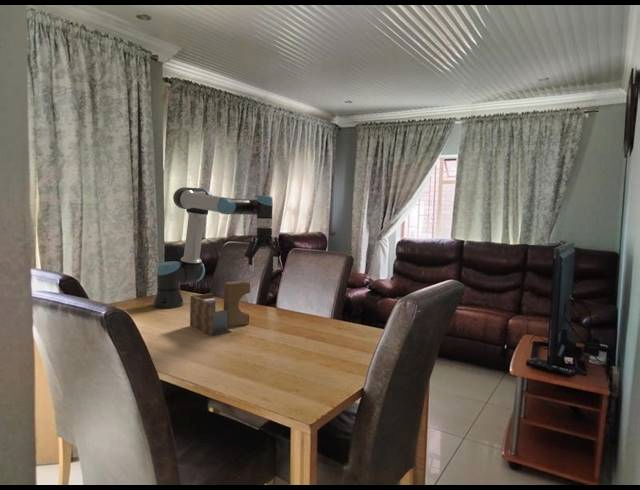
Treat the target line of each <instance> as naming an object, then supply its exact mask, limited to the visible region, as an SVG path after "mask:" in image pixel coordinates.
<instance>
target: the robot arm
mask: <svg viewBox="0 0 640 490" xmlns="http://www.w3.org/2000/svg"><path fill="white" fill-rule="evenodd" d="M256 196H257V197H256V199H247V198H230V197H225V196H217V195H213V194H212V191H210V190H209V189H206V188H200V187H186V186H185V187H180V188H178V189H176V191H175V192H173V196H172V197H173V198H172V199H173V202H174V204H175V206H176V207H178V208H179V209H184V210H185V211H186V213H187V215H188V219H187V226H186V234H185V235H186V236H185V244H184V253H183V256H182V257H181V258H180V261H176V260H173V261H172V260H171V261H165V262H161V263H159V264H158V265H157V270H156V274H157V277H156V290H157V291H156V293H155V297H154V299H153V307H155V308H158V309H173V308H179V307H181V306H184V298H183V296H182V294H181V285H186V284H194V283H197V282H200V281H201V280H203V278H204V277H205V273H206V268H205V265H204V263H203V262H202V259H201V257H200V256H201V248H202V240H203V233H204V227H205V226H204V224H205V217H206V216H208V215H209V211H212V212H215V213H216V212H217V213H220V214H221V215H244V216H245V215H246V216H251V215H254V216H255V215H256V237H250V242H249V244H248V247H247V249H246V252H245V253H244V257H245V258H247V259H248V260H247V261H248V265H249V272H251V273H254V272H255V258H254V257H255V255H256V254H257V253H258V251H259V249H260V248H262V247H263V248H264V247H268V249H269V250H270V251H271V253H272V254H273V257H272V270H275V271H278V264H279V263H280V262H279V261H280V259H279V258H280V257H281V256H282V255H283V251H282V250H281V247H280V245H279V242H278V237H277V236H273V228H272V227H273V209H274V207H273V206H274V204H273V196H272V195H266V194H264V195H262V194H261V195H256Z"/></svg>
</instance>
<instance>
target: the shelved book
mask: <svg viewBox="0 0 640 490" xmlns="http://www.w3.org/2000/svg"><path fill="white" fill-rule="evenodd" d="M203 300H206V301H208V302H211V303H213V312H216V299H215V298H214V297H213V298H210V299H203Z"/></svg>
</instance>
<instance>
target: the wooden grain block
mask: <svg viewBox="0 0 640 490" xmlns="http://www.w3.org/2000/svg"><path fill="white" fill-rule="evenodd" d="M189 298H190V299H189V300H190V302H189V303H190V306H189V308H190V312H189V327H191V328H193V329H195V330H197V331H199V332H201V333H203V334H205V335H207V336H208V337H214V336H213V303H211V302H208V301H206V300H203V299H210V298H213V299H214V293H212V292H211V293H204V294H194V295H190V297H189Z"/></svg>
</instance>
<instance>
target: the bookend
mask: <svg viewBox="0 0 640 490" xmlns="http://www.w3.org/2000/svg"><path fill="white" fill-rule="evenodd" d="M228 333H232V330H230V329H228V327H227V310H224V309H223V310H218V311H216V310H215V312H213V336H212V337H214V336H218V335H223V334H228Z"/></svg>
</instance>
